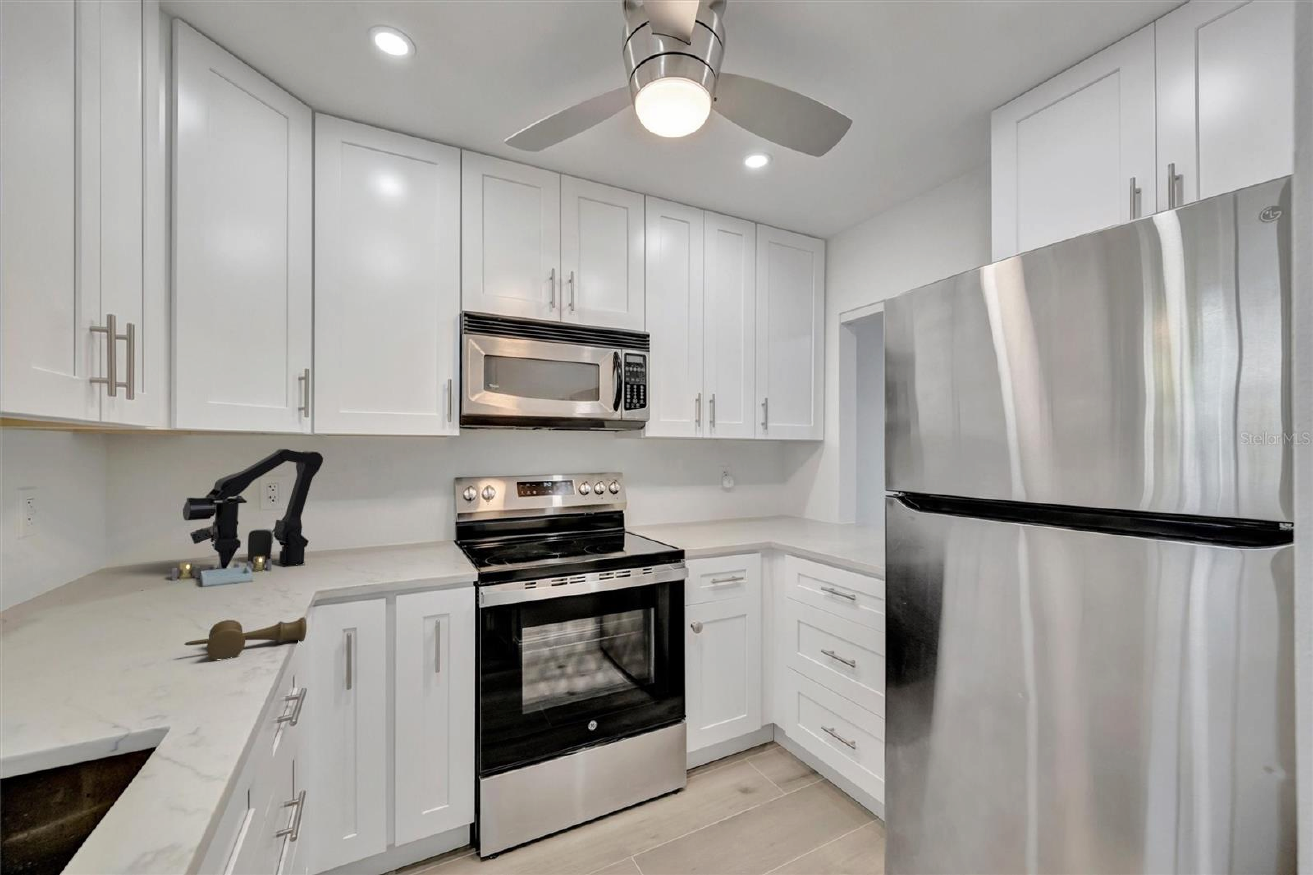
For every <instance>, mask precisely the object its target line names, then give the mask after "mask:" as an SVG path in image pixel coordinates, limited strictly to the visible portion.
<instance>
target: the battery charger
mask: <svg viewBox="0 0 1313 875" xmlns="http://www.w3.org/2000/svg"><path fill="white" fill-rule="evenodd" d="M273 544H274V532H273V529H269V528H266V529H265V528H259V529H258V528H257V529H253V530H250V531H249V533H248V536H247V559H246V560H247V561H251V562H252V564H253V563H254V557H256V556H265V563H266V560H267V559H270V560H271V561H272V551H273V550H272V549H273ZM247 561H246V562H247Z"/></svg>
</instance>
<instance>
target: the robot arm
mask: <svg viewBox="0 0 1313 875" xmlns="http://www.w3.org/2000/svg"><path fill="white" fill-rule="evenodd" d="M285 462H289V463H290V462H291V463H295V468H296V478H295V482H294V485H293V488H292V492H291V495H290V499H289V502H288V504H287V508H286V511H285V514H284V516H283V517H282V518H281V519H276V520H275V526H274V528H273V529H272V531H273V538H274V539H275V540H276V541H278V544H279V545H280V546H281V550H280V551H279V557H278V563H279V564H280V566H282V567H290V566H289V565H293V566H297V565H296V564H303V563H305V564H306V562H305V552H306V550H305V549H306V548H307V546H308V544H309V539H307V538H306V537H305V536H304V535H303V534H302V532H303V523H302V514H303V511H304V507H305V504H306V502H307V498H308V495H309V491H310V489H311V488H310V487H311V484H312V481H313V478H314V477H315V476H316V474H317V473H318V472H319V471H320V468H321V466H323V462H324V457H323V455H322V454H321V453H319V451H307V450H305V451H302V452H301V451H297V450H291V449H289V448H279V449H277V450H276V451H275V452H273V453H271V454H270V455H268V456H265V458H263V459H260V461H257V462H255V463H254V464H252V465H250V466H249V467H247V468H245V469H243V470H241V471H238V472H236V473H232V474H229V475H227V476H224V477H221V478H219V479H218V480H216V481H215V483H214V485H213V488H212V489H211V490H210V492H209V493H208V494H206V496H204V497H187V498H186V502H185V503H184V506H183V508H182V516H183V520H184V521H186V522H187V521H196V520H197V521H201V520H202V521H203V520H210V519H211V518H212V517H214V521H213V522H212V525H211V526H207V527H204V528H202V527H201V528H200V529H196V530H195V531H192V532H190V533H189V535H190V537H191V540H192V542H193V544H194V545H197V544H200V543H201V542H203V541H206V540H209V539H210V540H209V541H210V542H211V546H212V547H213V549H214V551H216V552H217V553H218V552H219V553H218V554H217V555H218V558H219V556H220V558H219V561H221V566H222V569H226V568H227V566H228V565H229V563H231V561H232V559H233V557H234V555H235V554H236V552H237V550H238V549H240V548H241V543H242V541H241V540H240V539H239V534H238V525H239V522H240V521H239V506H240V504H247V503H248V501H247V499H244V498H243V497H242V495H240V494H242V493H243V492H244V491H246V489H247V488H249V486H250V485H251V484H252V483H253V482H254V481H255V480H257V479H259V478H261V477H262V476H264V475H266V474H267V473H269V472H271V471H272V470H274V469H275V468H277V467H279V466H280V465H282V464H284V463H285Z"/></svg>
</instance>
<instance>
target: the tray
mask: <svg viewBox="0 0 1313 875" xmlns="http://www.w3.org/2000/svg"><path fill="white" fill-rule="evenodd" d="M252 582H254V571H253V570H252V571H251V569H250V568H249V566H247V567H246V566H239V567H237V568H234V567H232V568H226V569H216V568H215V569H214V570H209V569H206V570H200V583H201V586H202V588H208V586H209V587H216V586H225V585H233V584H234V585H235V584H243V583H244V584H245V583H252Z"/></svg>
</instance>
